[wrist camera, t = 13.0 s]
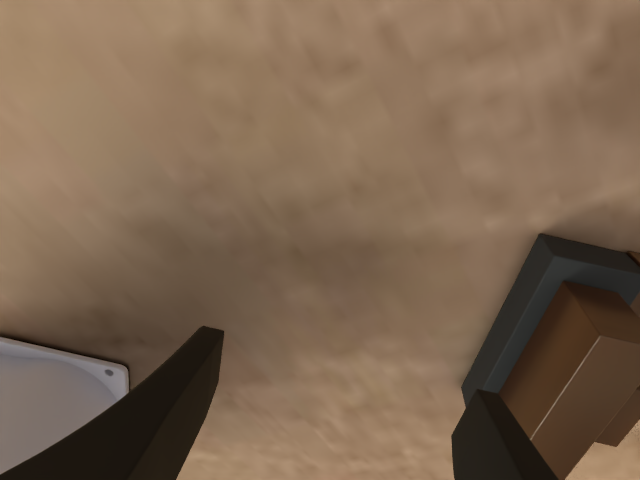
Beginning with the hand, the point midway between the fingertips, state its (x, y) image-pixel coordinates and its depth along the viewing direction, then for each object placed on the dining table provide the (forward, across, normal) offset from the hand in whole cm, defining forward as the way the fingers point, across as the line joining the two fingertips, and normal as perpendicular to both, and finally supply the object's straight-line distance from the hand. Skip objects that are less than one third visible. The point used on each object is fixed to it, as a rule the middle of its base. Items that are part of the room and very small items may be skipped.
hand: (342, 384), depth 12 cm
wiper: (+9, -10, +3) cm, 14 cm away
